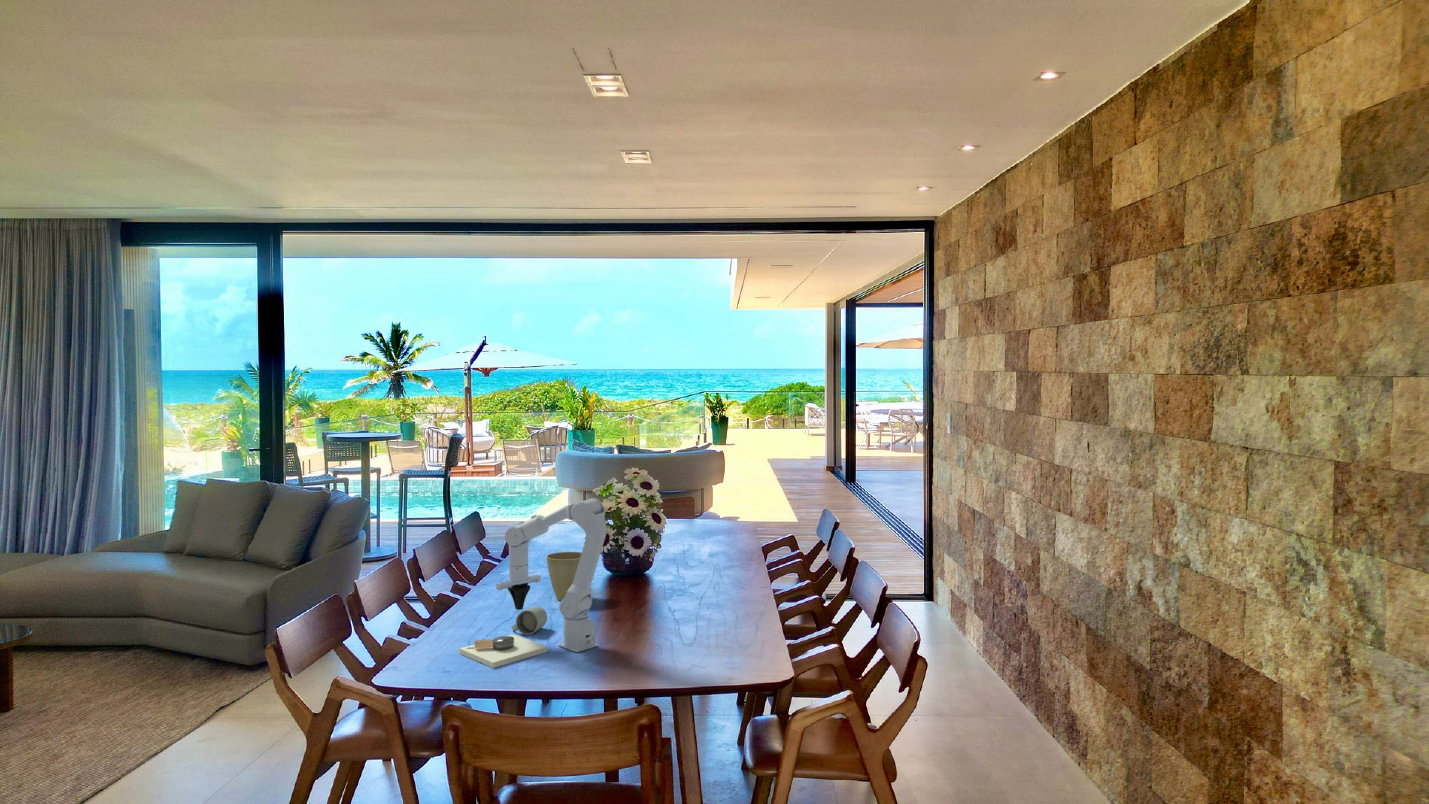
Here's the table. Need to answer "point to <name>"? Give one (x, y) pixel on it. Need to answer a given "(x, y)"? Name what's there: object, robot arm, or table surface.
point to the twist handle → (496, 643)
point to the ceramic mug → (530, 620)
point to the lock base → (504, 652)
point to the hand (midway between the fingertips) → (519, 609)
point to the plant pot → (562, 571)
